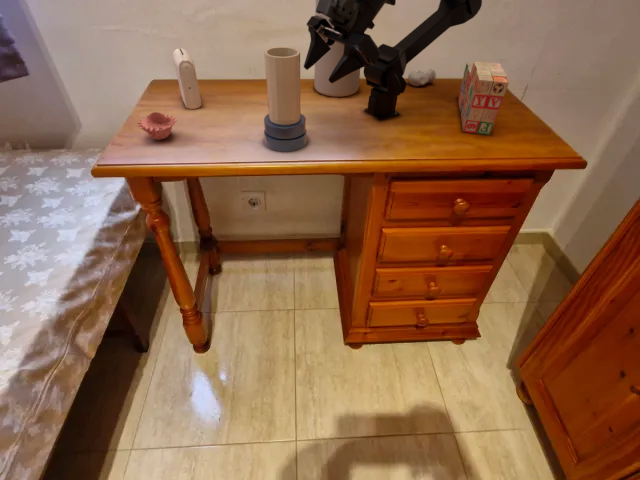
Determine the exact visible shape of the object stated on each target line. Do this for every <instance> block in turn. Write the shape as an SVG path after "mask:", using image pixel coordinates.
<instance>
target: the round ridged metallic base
mask: <svg viewBox="0 0 640 480" xmlns="http://www.w3.org/2000/svg"><path fill="white" fill-rule="evenodd" d="M300 117H301V118H300V120H299V121H298V122H296V123H294V124H289V125H280V124H275V123H273V122H271V121H270V119H269V113H268V114H266V115H265V116H264V118H263V127H264V129H263V136H264V138H263V139H264V144H265V146H266V147H267V148H268V149H270V150H273V151H277V152H281V153H282V152H283V153H284V152H295V151H298V150H300V149H303V148H304V147H305V146H306V145H307V132H308V131H307V128H306V127H307V125H306V124H307V122H306V121H307V120H306V117H305V115H304V114H302V113H301V115H300Z"/></svg>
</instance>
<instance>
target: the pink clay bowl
mask: <svg viewBox="0 0 640 480" xmlns="http://www.w3.org/2000/svg"><path fill="white" fill-rule="evenodd" d="M176 118H177V117H174V115H171V116H169V114H166V115H165V114H164V113H163V112H161V113H160V112H159V111H154V112H151V113H149V114H148V115H147V116H146V117H143V119H142V120H141V119H139V122H137V127H138V128H140V129H142V130H143V131H144V132H146V133H147V136H149V138H152V139H154V140H158V141H159V140H164V139H166V138H168V137H169V135H171V133H172V129H173V126H174V125H176V122H177V120H176Z"/></svg>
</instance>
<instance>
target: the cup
mask: <svg viewBox="0 0 640 480" xmlns="http://www.w3.org/2000/svg"><path fill="white" fill-rule="evenodd" d="M263 54H264V67H265V68H264V69H265V82H266V95H267V96H266V97H267V110H268V111H267V112H268V114H269V119H270V121H271V122H273V123H275V124H280V125H289V124H294V123H296V122H298V121H299V120H300V118H301V117H300V115H301V114H302V113H301V111H302V110H301V109H302V108H301V106H302V105H301V101H302V100H301V95H302V94H301V51H300V50H299V49H298V48H296V47H291V46H290V47H288V46H274V47H269V48H267V49H266V50H265V51H264V53H263Z"/></svg>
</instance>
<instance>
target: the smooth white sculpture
mask: <svg viewBox="0 0 640 480" xmlns="http://www.w3.org/2000/svg"><path fill="white" fill-rule="evenodd" d="M436 79H437V74H436V71H435V69H433V68H428V70H426V71H422V70H417V71H416V70H413V71H411V72H409V74H407V81H408V83H409V84H410V85H411V86H413V87H419V86H424V85H426V84H432V83H434V81H435V80H436Z"/></svg>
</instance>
